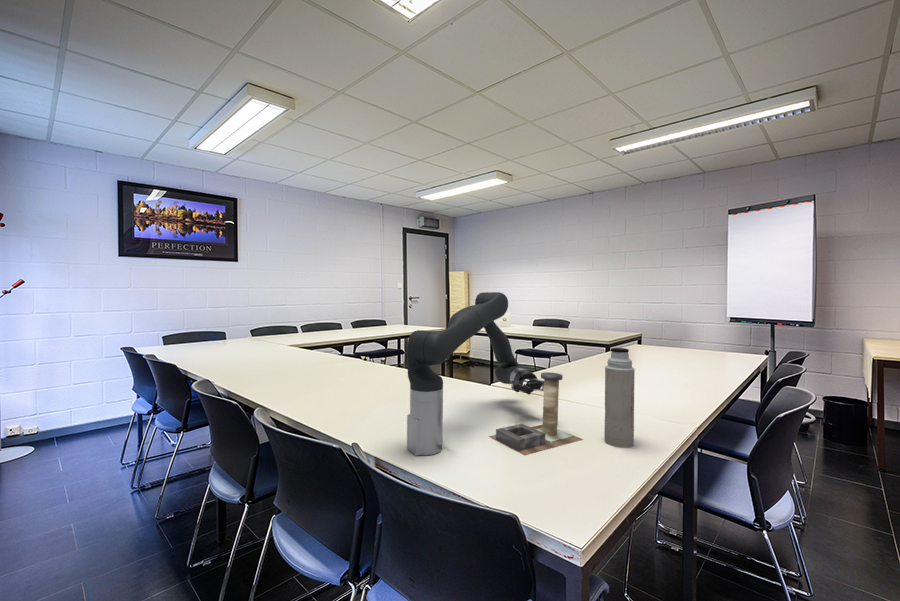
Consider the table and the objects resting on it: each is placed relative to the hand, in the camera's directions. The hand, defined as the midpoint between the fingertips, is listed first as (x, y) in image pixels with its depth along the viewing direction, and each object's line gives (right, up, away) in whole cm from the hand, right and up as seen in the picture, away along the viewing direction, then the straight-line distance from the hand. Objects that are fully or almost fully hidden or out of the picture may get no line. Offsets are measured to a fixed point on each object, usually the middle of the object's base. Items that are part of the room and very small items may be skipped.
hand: (542, 390), depth 124 cm
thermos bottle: (+21, -13, -9) cm, 26 cm away
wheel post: (+1, -12, -6) cm, 13 cm away
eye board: (-4, -13, -9) cm, 16 cm away
